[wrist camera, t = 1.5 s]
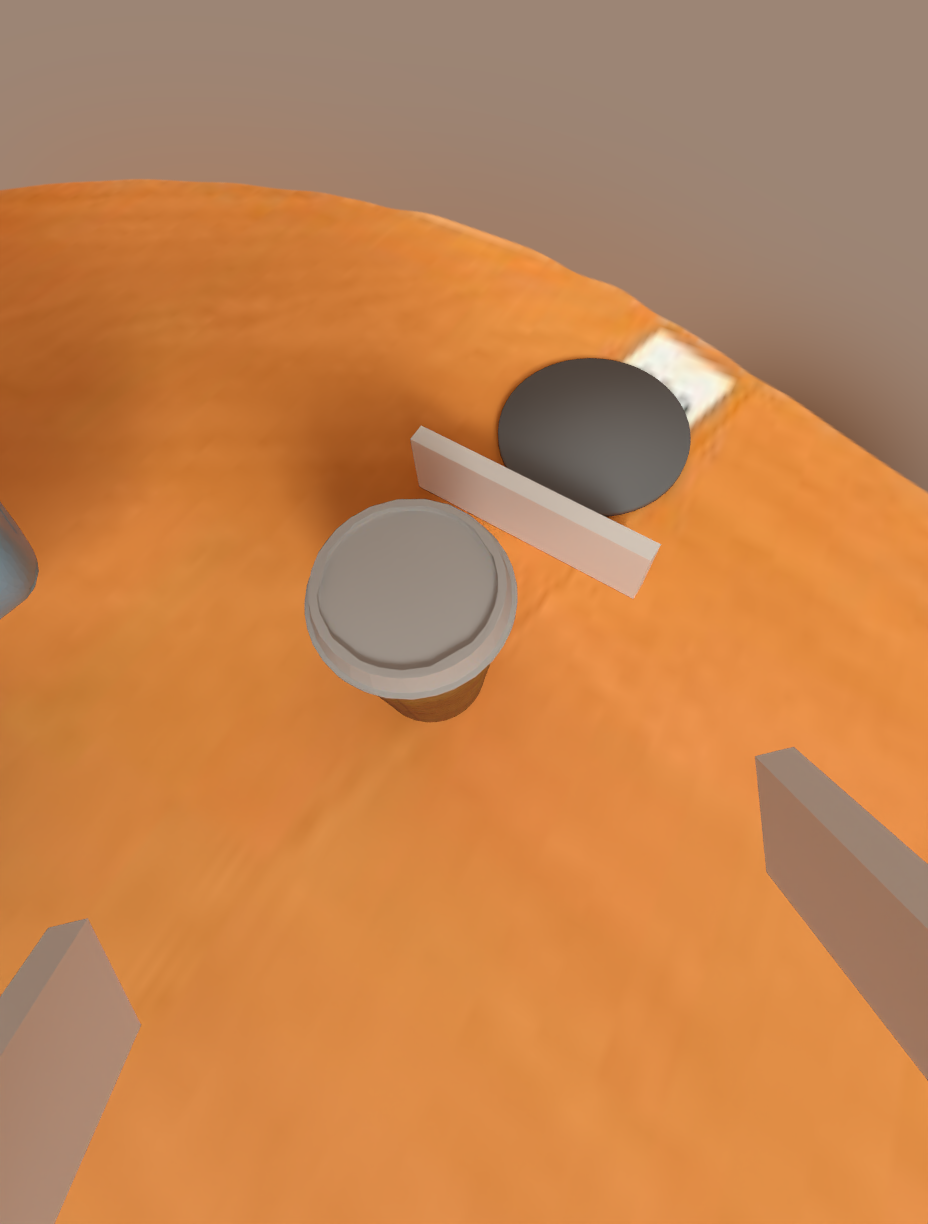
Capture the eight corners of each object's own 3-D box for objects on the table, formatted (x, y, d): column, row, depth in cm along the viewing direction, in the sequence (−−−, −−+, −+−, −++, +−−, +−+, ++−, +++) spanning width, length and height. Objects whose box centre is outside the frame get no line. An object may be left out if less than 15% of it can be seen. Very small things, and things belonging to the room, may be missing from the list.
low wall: (419, 486, 44) (410, 439, 40) (429, 473, 45) (421, 425, 40) (633, 598, 40) (651, 561, 36) (642, 583, 41) (660, 544, 36)
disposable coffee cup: (422, 570, 42) (396, 455, 31) (544, 657, 39) (562, 565, 28) (319, 683, 39) (250, 601, 28) (442, 785, 36) (419, 738, 25)
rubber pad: (462, 462, 45) (462, 458, 44) (556, 338, 49) (557, 333, 48) (634, 549, 42) (635, 545, 41) (720, 409, 46) (722, 404, 45)
